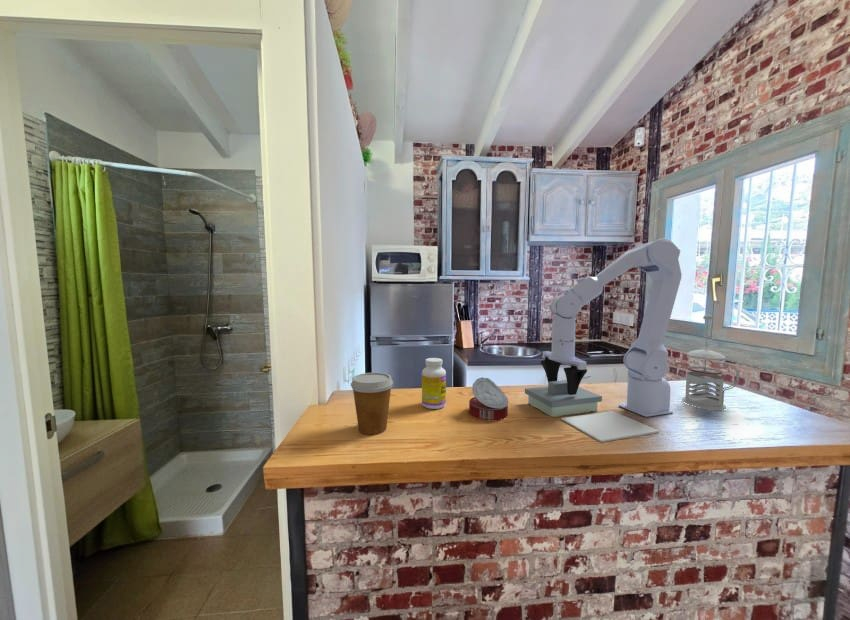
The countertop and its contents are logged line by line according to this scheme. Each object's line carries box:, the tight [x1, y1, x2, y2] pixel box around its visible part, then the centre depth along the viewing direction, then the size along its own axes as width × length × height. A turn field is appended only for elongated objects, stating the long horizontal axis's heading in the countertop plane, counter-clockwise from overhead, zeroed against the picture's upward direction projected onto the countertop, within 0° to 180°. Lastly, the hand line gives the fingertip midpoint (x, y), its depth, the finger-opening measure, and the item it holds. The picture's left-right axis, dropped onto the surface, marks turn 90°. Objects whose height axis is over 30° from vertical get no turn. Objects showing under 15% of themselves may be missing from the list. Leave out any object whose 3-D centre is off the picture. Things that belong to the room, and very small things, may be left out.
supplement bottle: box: [421, 357, 447, 410], centre depth 86 cm, size 7×7×13 cm
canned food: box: [468, 377, 509, 422], centre depth 81 cm, size 11×10×10 cm
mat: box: [560, 410, 660, 443], centre depth 73 cm, size 16×12×1 cm
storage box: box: [527, 395, 598, 418], centre depth 85 cm, size 14×10×4 cm
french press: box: [681, 314, 740, 411], centre depth 86 cm, size 10×12×25 cm
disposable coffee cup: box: [350, 372, 394, 436], centre depth 71 cm, size 10×10×12 cm
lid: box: [524, 379, 603, 408], centre depth 85 cm, size 15×11×4 cm
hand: (561, 389), depth 85 cm, fingers open, 7 cm apart
